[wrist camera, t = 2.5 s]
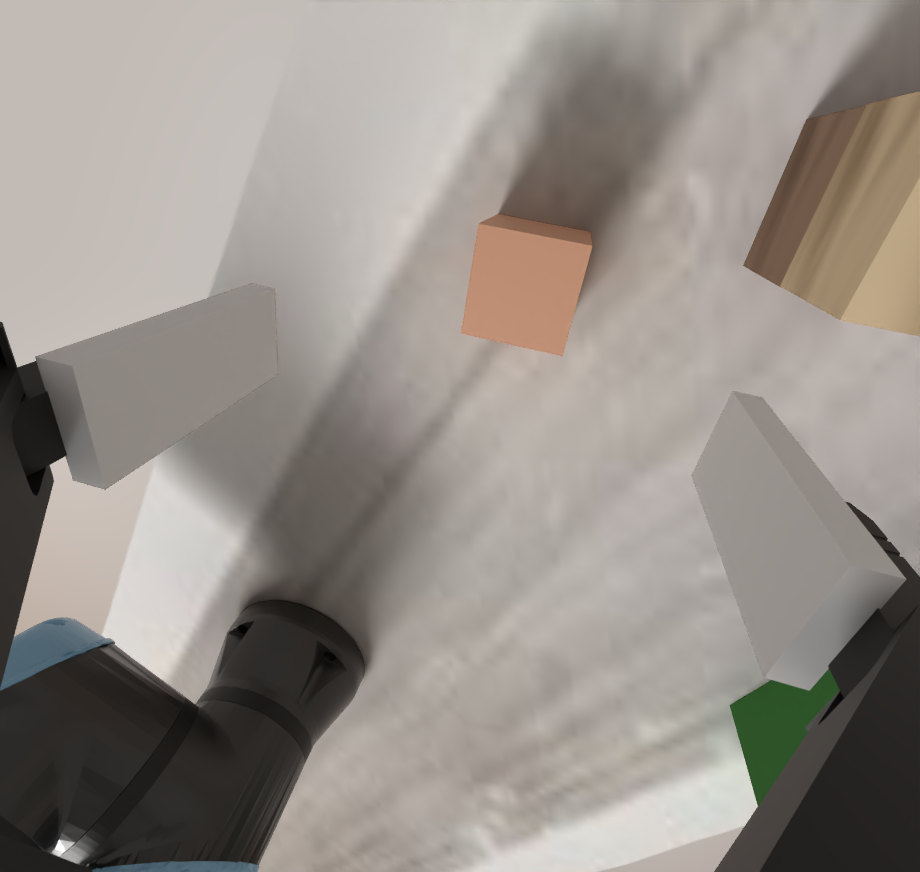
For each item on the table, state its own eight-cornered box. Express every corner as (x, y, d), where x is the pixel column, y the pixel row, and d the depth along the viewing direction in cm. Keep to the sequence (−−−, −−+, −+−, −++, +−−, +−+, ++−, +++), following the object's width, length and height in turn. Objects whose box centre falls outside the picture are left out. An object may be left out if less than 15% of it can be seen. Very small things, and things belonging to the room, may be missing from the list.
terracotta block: (482, 305, 32) (461, 333, 26) (498, 213, 29) (478, 223, 23) (565, 323, 31) (562, 355, 25) (590, 231, 28) (592, 245, 23)
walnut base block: (743, 265, 27) (780, 287, 22) (806, 119, 24) (868, 104, 19) (874, 291, 27) (944, 319, 22) (959, 144, 23) (1067, 135, 18)
